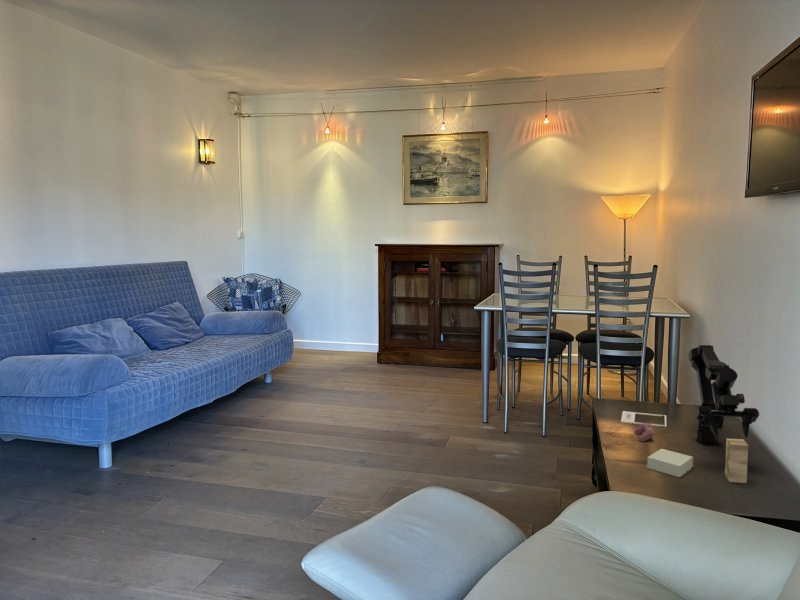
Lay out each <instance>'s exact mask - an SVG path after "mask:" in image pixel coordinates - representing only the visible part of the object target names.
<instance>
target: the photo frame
mask: <svg viewBox="0 0 800 600" xmlns="http://www.w3.org/2000/svg"><path fill="white" fill-rule="evenodd" d="M636 415H641V416H643V415H644V416H653V417H654V416H655V417H664V424H656V423H650V424H651V425H652V427H661V426H662V428H667V415H665V414H656V413H654V414H653V413H644V412H635V411H627V410H626V411H625V410H624V411H623V410H622V414H621V420H620V423H624V424H632V423H633V424H635V425H642V424H643V423H644V422H637V421H635V419H636ZM633 424H632V425H633ZM663 426H664V427H663Z"/></svg>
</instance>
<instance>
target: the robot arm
mask: <svg viewBox="0 0 800 600" xmlns="http://www.w3.org/2000/svg"><path fill="white" fill-rule="evenodd" d="M714 350H715V349H714V345H710V344H700V345H698V346H697V347H694V348H691V349H690V350H689V352H688V361H690V365H691V367H692V368H693V369H694V370H695V371H696V376H697V377H696V378H697V382H698V383H697V384H698V389H699V390H698V391H699V397H700V403H701V405H699V406H698V407H697V409H696V411H695V419H694V424H695V425H696V427H697V428H698V429H697V435H696V438H695V439H694V440H695V441H697V442H699V443H701V444H702V445H705V446H712V445H713V446H714V445H721V444H722V443H721V441H719V430H722V429H723V426H724V421H725V417H732V418H733V417H734V418H735V417H736V418H741V425H742V431H743V435H744V437H745V439H747V438H749V437H748V436H749V435H748V434H749V431H750V430H749V429H750V425H752V424H753V423H755V422H756V421H757V419H758V418H759V416H760V411H759V410H758V408H756V407H744V408H743V410H741V411H739V410H737V409H738V406H739V405H740V404H742V405H743V404H745V401H746V400H745V399H746V398H745V396H744V393H737V394H735V395H734V394H732V390H731V389H732V388H733V387H734V385H735V382H736V381H737V379H738V372H736V371H735V369H733V368H731V367H730V365H729V364H727V363H726V362H724V361H720V358H719V357H718V356H717V354H716V352H715V351H714Z"/></svg>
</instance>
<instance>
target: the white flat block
mask: <svg viewBox="0 0 800 600" xmlns="http://www.w3.org/2000/svg"><path fill="white" fill-rule="evenodd" d="M693 466H694V456H691V455H688V454H683V453H679V452H676V451H672V450H669V449H664V448H660V449H659V450H657V451H655V452H653V453H652V454H650V455H649V456H647V466H646V468H647V469H649V470H652V471H657V472H660V473H663V474H667V475H670V476H673V477H676V478H681V477H682V476H684V475H685V474H686V473H688V472H689V471H691V470H692V469H693V468H692V467H693ZM691 468H692V469H691ZM687 471H688V472H687Z"/></svg>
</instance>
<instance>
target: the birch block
mask: <svg viewBox="0 0 800 600" xmlns="http://www.w3.org/2000/svg"><path fill="white" fill-rule="evenodd" d="M725 442H726V443H725V463H724V464H725V465H724V476H725V478H726V479H727V481H728V482H730V483H739V484H740V483H741V484H747V482H748V459H749V458H748V457H749V456H748V455H749V444H748V443H747V442H746V441H745V439H741V438H740V439H739V438H726V441H725Z"/></svg>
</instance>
